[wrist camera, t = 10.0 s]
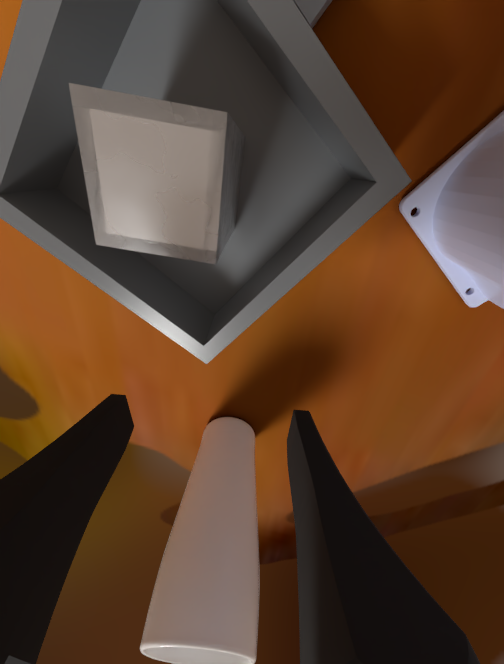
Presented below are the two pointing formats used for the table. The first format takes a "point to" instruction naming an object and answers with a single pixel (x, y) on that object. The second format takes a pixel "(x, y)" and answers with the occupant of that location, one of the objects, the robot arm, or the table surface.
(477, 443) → the table surface
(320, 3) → the base
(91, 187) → the light grey block
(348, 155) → the bin
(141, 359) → the table surface
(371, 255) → the table surface
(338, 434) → the table surface
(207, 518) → the drinking glass
